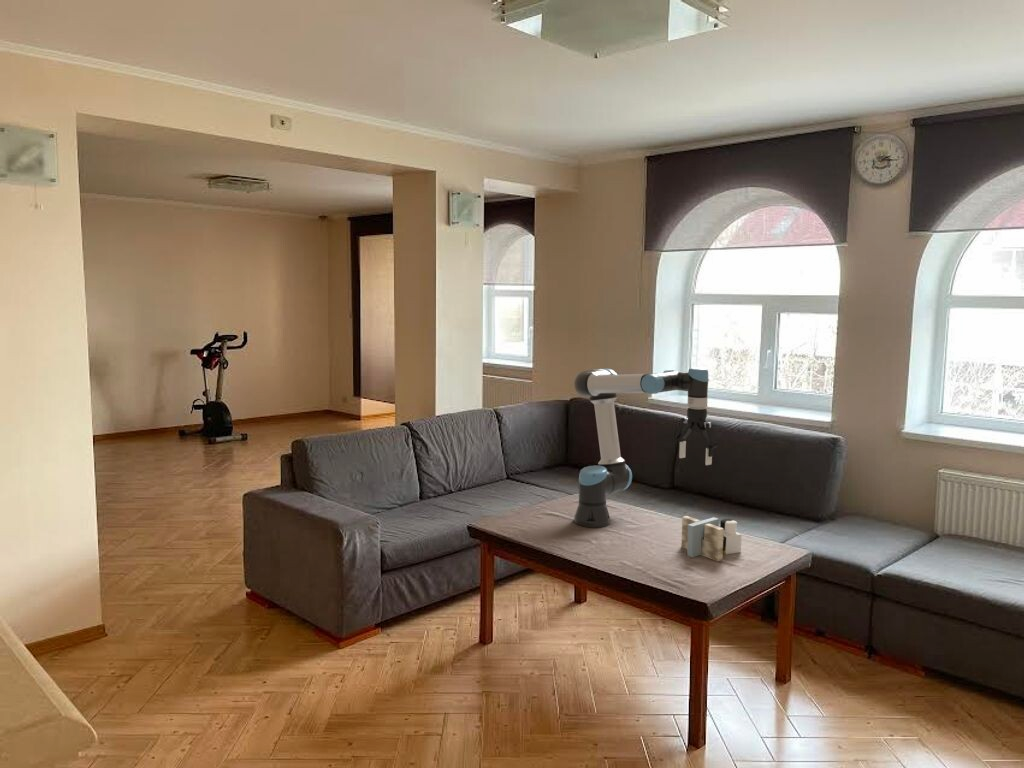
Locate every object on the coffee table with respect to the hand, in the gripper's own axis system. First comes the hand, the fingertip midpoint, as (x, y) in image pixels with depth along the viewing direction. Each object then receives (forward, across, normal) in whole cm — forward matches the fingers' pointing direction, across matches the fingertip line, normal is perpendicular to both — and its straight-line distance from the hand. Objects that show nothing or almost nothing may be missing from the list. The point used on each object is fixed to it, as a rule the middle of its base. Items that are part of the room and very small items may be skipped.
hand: (695, 461), depth 290 cm
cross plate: (+31, +13, -8) cm, 35 cm away
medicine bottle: (+32, +16, +2) cm, 36 cm away
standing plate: (+32, +13, -9) cm, 35 cm away
